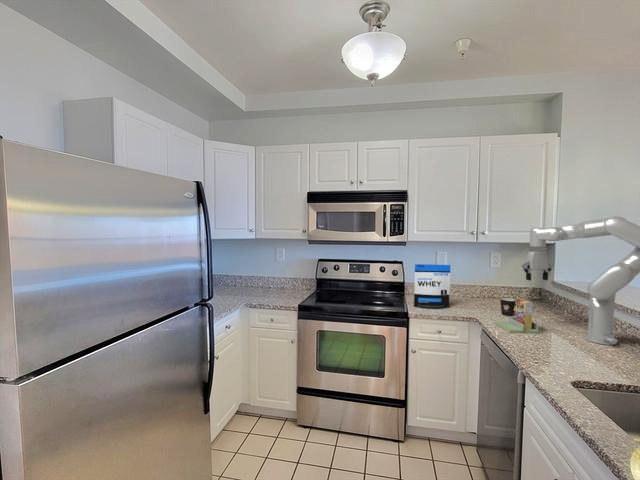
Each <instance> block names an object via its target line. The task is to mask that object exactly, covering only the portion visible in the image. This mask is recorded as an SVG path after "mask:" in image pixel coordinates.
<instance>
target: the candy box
mask: <svg viewBox="0 0 640 480" xmlns="http://www.w3.org/2000/svg"><path fill="white" fill-rule="evenodd" d="M515 300H516V301H515V303H516V305H515V310H516V311H515V317H516V321H518V322H520V323H522V324H524V329H528V330H531V327H532V322H533V301H531V300H527V299H525V298H524V297H516V298H515Z"/></svg>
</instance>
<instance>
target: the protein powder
mask: <svg viewBox="0 0 640 480" xmlns="http://www.w3.org/2000/svg"><path fill="white" fill-rule="evenodd" d="M451 267H452V265H451V264H428V263H427V264H419V263H418V264H417V263H415V264H414V290H413V292H414V294H413V297H414V298H413V308H419V309H427V310H443V309H449V308H450V290H451V289H450V288H451V287H450V285H451Z"/></svg>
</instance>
